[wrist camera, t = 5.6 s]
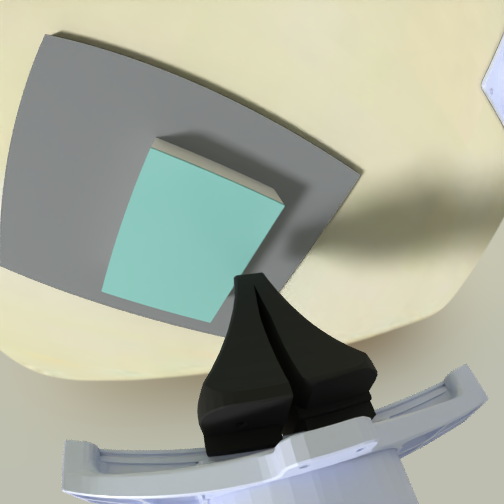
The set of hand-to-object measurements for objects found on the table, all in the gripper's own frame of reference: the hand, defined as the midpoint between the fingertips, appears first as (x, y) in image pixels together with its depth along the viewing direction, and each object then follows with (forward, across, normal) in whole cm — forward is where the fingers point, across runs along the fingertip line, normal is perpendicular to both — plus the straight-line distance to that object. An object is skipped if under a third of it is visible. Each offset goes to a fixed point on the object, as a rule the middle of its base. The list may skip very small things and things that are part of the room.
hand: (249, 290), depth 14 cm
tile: (+2, 0, 0) cm, 2 cm away
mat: (+4, +4, -2) cm, 6 cm away
